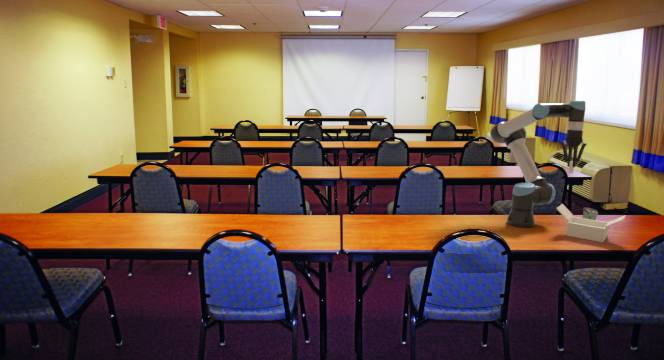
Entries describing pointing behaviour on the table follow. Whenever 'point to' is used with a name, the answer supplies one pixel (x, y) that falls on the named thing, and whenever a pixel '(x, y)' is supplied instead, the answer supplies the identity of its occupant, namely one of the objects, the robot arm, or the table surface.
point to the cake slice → (590, 213)
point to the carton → (587, 229)
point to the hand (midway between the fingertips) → (570, 172)
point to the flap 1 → (565, 212)
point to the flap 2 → (615, 221)
